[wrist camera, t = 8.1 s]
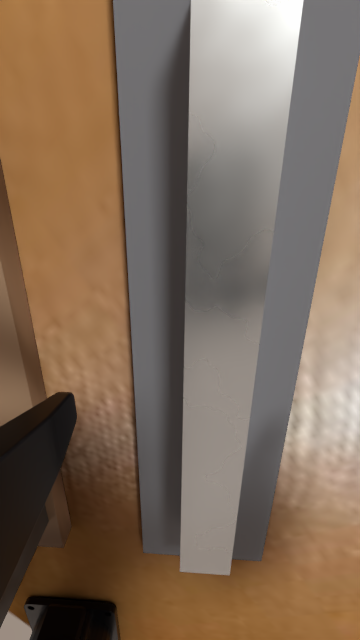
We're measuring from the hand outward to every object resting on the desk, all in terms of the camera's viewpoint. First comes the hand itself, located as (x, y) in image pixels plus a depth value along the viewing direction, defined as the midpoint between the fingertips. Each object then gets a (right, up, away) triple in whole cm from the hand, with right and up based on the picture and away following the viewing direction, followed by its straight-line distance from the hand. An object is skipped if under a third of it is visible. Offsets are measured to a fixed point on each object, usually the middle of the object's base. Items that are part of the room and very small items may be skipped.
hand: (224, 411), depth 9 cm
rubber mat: (0, +2, +4) cm, 5 cm away
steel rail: (0, +2, +4) cm, 4 cm away
